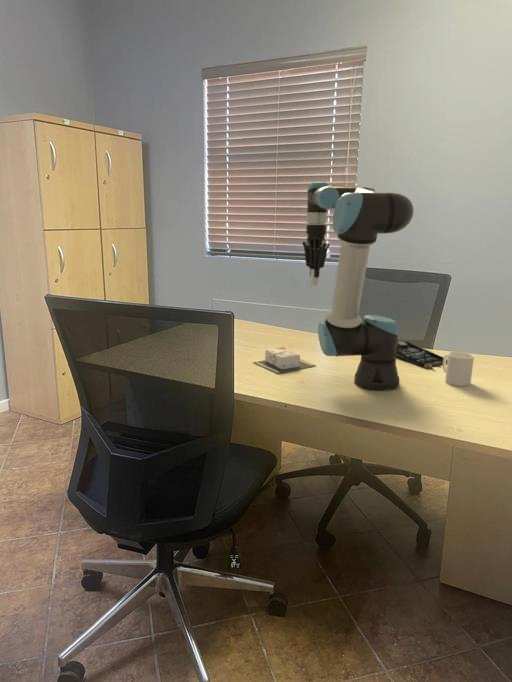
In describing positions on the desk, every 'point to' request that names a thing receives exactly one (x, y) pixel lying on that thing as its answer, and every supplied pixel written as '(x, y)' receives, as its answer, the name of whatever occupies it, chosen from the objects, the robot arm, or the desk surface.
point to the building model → (418, 355)
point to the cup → (458, 368)
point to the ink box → (282, 358)
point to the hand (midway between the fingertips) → (314, 285)
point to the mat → (278, 371)
